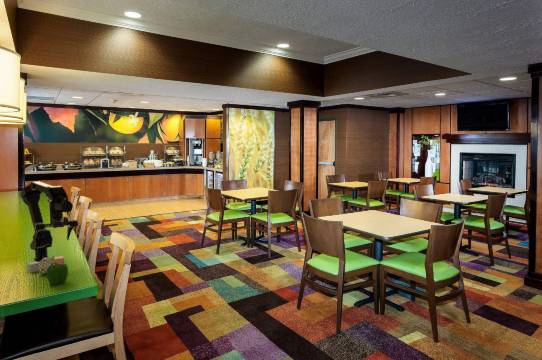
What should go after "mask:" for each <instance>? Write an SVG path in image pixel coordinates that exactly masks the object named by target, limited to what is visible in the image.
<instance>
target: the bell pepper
mask: <svg viewBox="0 0 542 360" xmlns="http://www.w3.org/2000/svg"><path fill="white" fill-rule="evenodd" d="M51 264H52V265H50V266H49V267H48V269H47V273H46V276H47V280H48V282H49V284H50V285H52V286H55V285H59V284H64V283H65V282H66V281H67V277H68V274H69V268H68V265H67V264H66V263H64V264H63V265H61V264H57V262H52V263H51ZM53 264H55V265H53Z"/></svg>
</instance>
